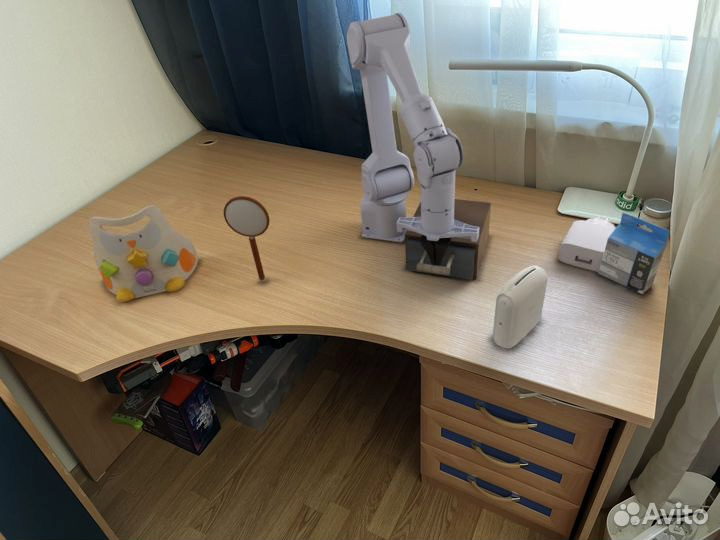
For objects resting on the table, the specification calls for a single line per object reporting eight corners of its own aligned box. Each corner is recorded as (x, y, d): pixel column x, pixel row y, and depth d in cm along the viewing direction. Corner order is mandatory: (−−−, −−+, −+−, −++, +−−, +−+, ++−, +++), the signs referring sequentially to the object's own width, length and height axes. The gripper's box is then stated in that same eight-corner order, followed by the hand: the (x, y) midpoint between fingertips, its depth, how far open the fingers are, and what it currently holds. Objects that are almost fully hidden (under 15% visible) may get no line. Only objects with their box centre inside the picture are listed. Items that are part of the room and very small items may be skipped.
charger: (623, 233, 112) (606, 274, 102) (578, 222, 116) (557, 261, 107) (629, 214, 109) (612, 254, 99) (582, 203, 113) (561, 241, 104)
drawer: (466, 298, 99) (468, 270, 95) (399, 287, 103) (397, 259, 99) (483, 239, 113) (486, 212, 108) (423, 231, 116) (423, 205, 112)
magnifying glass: (284, 280, 109) (265, 194, 96) (282, 285, 108) (262, 199, 95) (244, 278, 110) (220, 194, 98) (241, 283, 109) (217, 199, 97)
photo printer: (509, 353, 89) (517, 297, 81) (488, 340, 92) (493, 285, 84) (544, 320, 94) (554, 265, 86) (522, 309, 97) (530, 255, 89)
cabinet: (476, 280, 104) (478, 244, 99) (405, 269, 108) (404, 234, 103) (488, 237, 115) (491, 202, 109) (423, 229, 119) (423, 195, 113)
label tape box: (596, 274, 102) (610, 220, 95) (608, 264, 104) (622, 211, 97) (642, 295, 97) (660, 240, 89) (653, 285, 99) (672, 230, 91)
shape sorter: (99, 310, 106) (61, 237, 95) (104, 278, 114) (69, 207, 103) (200, 287, 109) (174, 213, 98) (198, 257, 117) (174, 186, 106)
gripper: (390, 211, 92) (393, 272, 100) (475, 221, 88) (471, 284, 96) (401, 190, 97) (404, 250, 106) (483, 199, 93) (478, 261, 101)
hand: (436, 265), depth 101 cm, fingers closed, pressing on drawer
